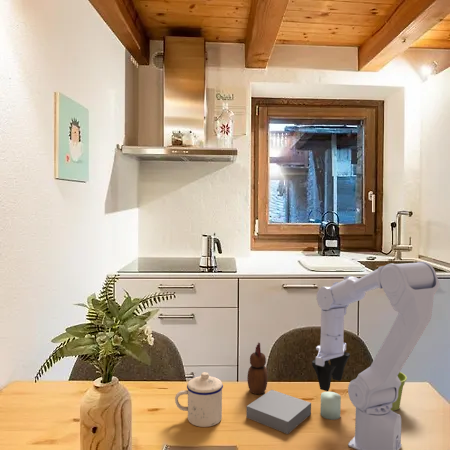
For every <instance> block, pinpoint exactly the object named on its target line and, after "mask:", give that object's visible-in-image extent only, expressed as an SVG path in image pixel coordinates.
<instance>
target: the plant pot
mask: <svg viewBox="0 0 450 450" xmlns="http://www.w3.org/2000/svg"><path fill="white" fill-rule="evenodd" d="M398 378H399V380H400V382H401V385H400V387H399V390H398V398H397V400H396V401H395V402H393V403H392V408H391V410H392V411H393V412H395V411H396V410H400V406H401V400H402V396H403V395H402V394H403V388H404V386H405V383H406V381H407V379H408V377H407V375H406V374H404V373H403V372H401V371H400V372H399V374H398Z"/></svg>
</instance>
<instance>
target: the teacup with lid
mask: <svg viewBox="0 0 450 450" xmlns="http://www.w3.org/2000/svg"><path fill="white" fill-rule="evenodd" d="M223 388H224V385H223V382H222V380H220V379H219V378H217V377H215V376H211V375H210V374H209V372H207V371H205V372H204V371H202V372H201V374H200V375H199V376H195V377H193V378H191V379H190V380H188V381H187V384H186V389H185V390H180V391H178V392H177V393H175V396H174V397H175V398H174V401H175V406H176V407H177V408H178V409H179V410H181V411H183V412H187V420H188V422H189V423H190V424H191V425H193V426H196V427H200V428H208V427H212V426H215V425H217V424H219V423H220V422H221V420H222V419H223ZM183 395H187V406H184V405H181V403H180V402H179V397H180V396H183Z"/></svg>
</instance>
